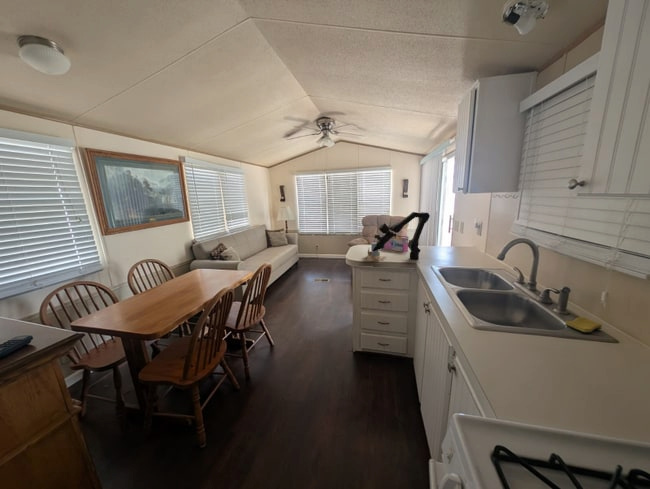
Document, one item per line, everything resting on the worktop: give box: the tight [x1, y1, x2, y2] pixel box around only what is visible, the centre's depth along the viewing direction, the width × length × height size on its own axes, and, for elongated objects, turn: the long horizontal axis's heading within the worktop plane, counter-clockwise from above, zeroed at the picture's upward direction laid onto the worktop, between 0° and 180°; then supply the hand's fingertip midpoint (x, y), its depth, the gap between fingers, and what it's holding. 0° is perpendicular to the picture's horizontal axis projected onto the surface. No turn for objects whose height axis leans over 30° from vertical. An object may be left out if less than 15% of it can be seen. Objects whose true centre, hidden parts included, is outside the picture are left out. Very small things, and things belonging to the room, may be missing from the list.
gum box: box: [383, 234, 409, 253], centre depth 236 cm, size 24×8×14 cm, turn 43°
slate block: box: [370, 242, 379, 256], centre depth 204 cm, size 6×6×12 cm
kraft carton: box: [367, 247, 388, 262], centre depth 204 cm, size 16×15×8 cm
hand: (373, 250), depth 204 cm, fingers closed on slate block, 5 cm apart
